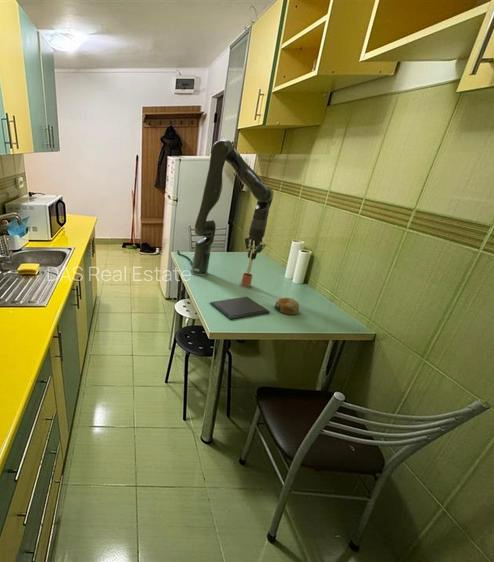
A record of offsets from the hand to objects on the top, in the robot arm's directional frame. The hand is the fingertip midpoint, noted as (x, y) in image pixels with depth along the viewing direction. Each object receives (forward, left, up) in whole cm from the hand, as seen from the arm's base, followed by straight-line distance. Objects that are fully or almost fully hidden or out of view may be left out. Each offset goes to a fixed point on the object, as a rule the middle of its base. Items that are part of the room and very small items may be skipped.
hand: (251, 258), depth 165 cm
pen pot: (0, 0, -17) cm, 17 cm away
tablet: (+21, -21, -17) cm, 34 cm away
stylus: (0, 0, -8) cm, 8 cm away
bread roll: (+29, 0, -17) cm, 34 cm away
